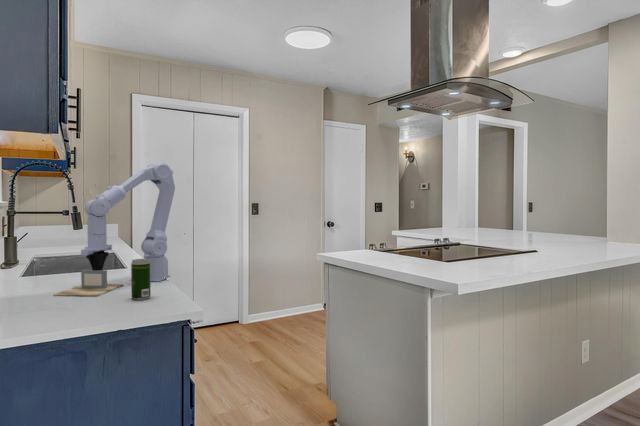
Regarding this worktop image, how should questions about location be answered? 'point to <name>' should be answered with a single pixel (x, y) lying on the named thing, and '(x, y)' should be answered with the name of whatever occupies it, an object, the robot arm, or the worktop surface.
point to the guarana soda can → (140, 279)
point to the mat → (88, 291)
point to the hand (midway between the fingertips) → (97, 273)
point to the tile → (94, 279)
